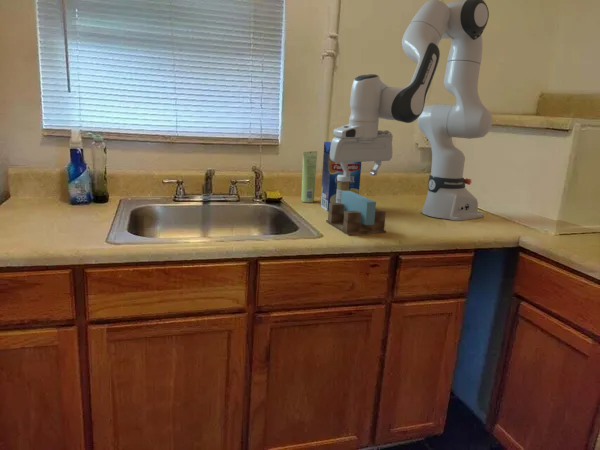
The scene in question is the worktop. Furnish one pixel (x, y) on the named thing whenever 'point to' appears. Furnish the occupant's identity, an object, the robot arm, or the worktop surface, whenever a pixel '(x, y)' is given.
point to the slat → (359, 206)
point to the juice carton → (330, 177)
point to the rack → (354, 220)
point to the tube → (308, 176)
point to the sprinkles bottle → (341, 186)
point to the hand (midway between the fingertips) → (360, 175)
